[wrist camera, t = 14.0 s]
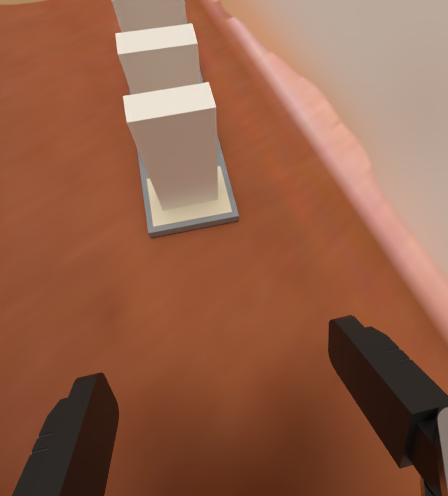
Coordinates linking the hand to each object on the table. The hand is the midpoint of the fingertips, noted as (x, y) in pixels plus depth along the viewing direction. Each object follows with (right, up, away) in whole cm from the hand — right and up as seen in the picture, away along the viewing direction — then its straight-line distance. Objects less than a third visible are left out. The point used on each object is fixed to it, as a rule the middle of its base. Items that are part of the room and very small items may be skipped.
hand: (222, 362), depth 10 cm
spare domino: (-3, +9, +15) cm, 18 cm away
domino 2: (-4, +14, +17) cm, 22 cm away
